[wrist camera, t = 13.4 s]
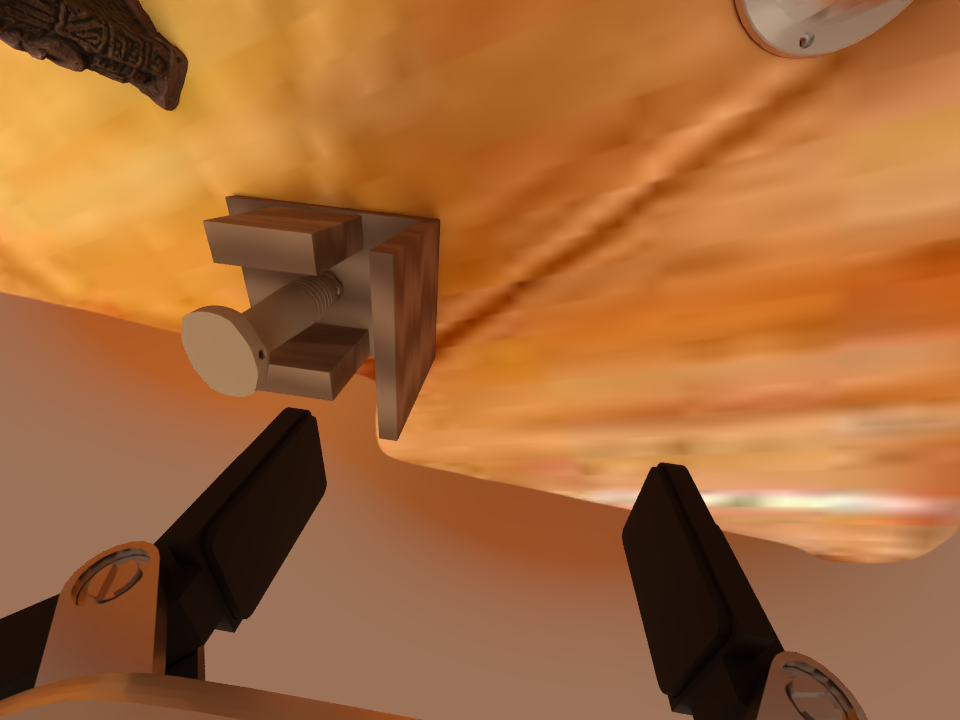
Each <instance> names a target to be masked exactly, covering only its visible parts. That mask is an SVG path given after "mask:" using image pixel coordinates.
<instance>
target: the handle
mask: <svg viewBox="0 0 960 720" xmlns="http://www.w3.org/2000/svg"><path fill="white" fill-rule="evenodd" d="M342 290H343V287H342V285H341V284H340V283H339V282H338V281H337V280H336V278H335V275H334V274H333V273H331V272H328V273H321V274H319V275H317V276H314V275H308V276H304V277H302V278H299V279H296V280H294V281H292V282H290V283H288V284H286V285H284V286H283V287H281V288H279V289H278V290H276V291H275V292H273V293H272V294H270V295H269V296H268V297H266V298H265V299H263V300H262V301H260V302H259V303H257V304H256V305H254V306H253V307H251V308H249V309H248V310H246V311H245V312H243V313H242V314H241V313H239V312H238V311H236V310H234V309H231V308H228V307H224V306H206V307H202V308H199V309H197V310H195V311H193V312H191V313H189V314H187V315H185V316H184V317H183V320H182V332H181V336H182V342H183V346H184V348H185V351H186V353H187V355H188V358H189V360H190V362H191V364H192V366H193V367H194V369H195V370H196V371H197V373H198V374H199V375H200V376H201V377H202V378H203V380H205V382H206V383H207V384H208V385H209V386H210V387H211V388H212V389H214V390H216V391H218V392H220V393H222V394H226V395H229V396H237V397H238V396H239V397H243V396H248V395H251V394H253V393H254V392H256V391H257V390H258V389H259V388H260V387H261V386H262V385H263V384H264V383H265V380H266V377H267V373H268V368H269V360H270V354H269V353H270V352H271V351H273V350H274V349H276V348H277V347H279V346H280V345H282V344H283V343H285V342H286V341H288V340H289V339H291V338H292V337H294V336H295V335H297V334H299V333H300V332H302V331H303V330H305V329H306V328H308V327H310V326H311V325H313V324H314V323H315V322H316V321H318V320H319V319H320V318H321V317H322V316H323V315H325V314H326V313H327V312H328V311H329V309H330V308H331V307H332V306H333V305H334V304H335V303H336V302H337V300H338V295H339V294H340V293H341V292H342Z"/></svg>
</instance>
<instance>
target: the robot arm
mask: <svg viewBox="0 0 960 720" xmlns="http://www.w3.org/2000/svg"><path fill="white" fill-rule="evenodd" d="M913 1H914V0H735V4H736V9H737V11H738V14H739V17H740V19H741V22H742V25H743V26H744V28H745V29H746V31H747V32H748V33H749V35H750V36H751V38H752V39H753V40H754V41H755V42H756V43H758V44H759V45H760V46H761V47H762V48H764V49H765V50H767V51H769V52H772V53H774V54H776V55H778V56H782V57H789V58H795V59H800V58H812V57H818V56H821V55H825V54H828V53H832V52H835V51H838V50H840V49H843V48H846V47H848V46H851V45H853V44H855V43H857V42H859V41H861V40H862V39H864V38H866V37H868V36H870V35H871V34H873V33H875V32H876V31H878V30H879V29H880V28H882V27H883V26H884V25H886V24H887V23H888V22H890V21H891V20H892V19H894V18H895V17H896V16H898V15H899V14H900V13H901V12H902V11H903V10H904V9H905V8H906V7H907V6H908V5H909V4H910V3H912V2H913ZM800 40H801V42H802V43H801V46H799V41H800ZM326 485H327V481H326V475H325V469H324V463H323V457H322V450H321V445H320V438H319V432H318V426H317V420H316V418H315V417H314V416H312V415H311V412H310V411H309V410H303V409H297V408H290V407H288V408H285V409H284V410H283V411H282V412H281V413H280V414H279V415H278V416H277V417H276V418H275V419H274V420H273V421H272V422H271V423H270V425H269V426H268V427H267V428H266V429H265V430H264V431H263V432H262V433H261V434H260V435H259V436H258V437H257V438H256V439H255V440H254V441H253V442H252V443H251V444H250V446H248V447H247V449H246V450H245V451H244V452H243V453H242V454H240V455H239V456H238V457H237V458H236V459H235V460H234V461H233V462H232V463H231V464H230V465H229V466H228V468H226V469H225V470H224V472H223V473H222V474H221V475H220V476H219V477H218V478H217V479H216V480H215V481H214V482H213V483H212V484H211V485H210V486H209V487H208V488H207V490H205V491H204V492H203V493H202V494H201V496H200V497H199V498H198V499H197V500H196V501H195V502H194V503H193V504H192V505H191V506H190V507H189V508H188V509H187V510H186V511H185V512H184V513H183V514H182V515H181V516H180V517H179V518H178V519H177V521H175V523H174V524H173V525H172V526H171V527H170V528H169V529H168V530H167V531H166V532H165V533H164V534H163V535H162V536H161V537H160V538H159V539H158V540H157V541H156V542H155V543H154V544H152V543H148V542H145V541H137V542H128V543H125V544H121V545H117V546H115V547H113V548H110V549H108V550H106V551H103V552H102V553H100V554H98V555H97V556H95V557H94V558H92V559H90V560H89V561H87V562H86V563H85V564H84V565H83V566H81V567H80V568H79V569H78V570H77V571H76V572H74V574H73V575H72V576H71V577H70V578H69V580H68V581H67V582H66V583H65V585H64V587H63V589H62V591H61V593H60V594H58V595H56V596H53V597H51V598H48V599H46V600H44V601H41V602H39V603H37V604H34V605H32V606H30V607H27V608H25V609H23V610H20V611H18V612H16V613H13V614H11V615H9V616H6V617H4V618H2V619H0V720H420V719H415V718H410V717H405V716H399V715H394V714H389V713H383V712H378V711H373V710H367V709H362V708H356V707H350V706H345V705H340V704H335V703H329V702H324V701H317V700H312V699H306V698H301V697H296V696H291V695H285V694H280V693H274V692H268V691H263V690H258V689H252V688H247V687H240V686H234V685H228V684H221V683H215V682H209V681H205V652H204V644H205V643H206V641H207V640H208V638H209V637H210V635H211V634H212V632H213V631H214V629H217V630H222V631H228V632H233V633H234V632H235V631H236V629H237V628H238V626H239V624H240V623H241V621H242V619H247V618H248V617H250V616H251V615H252V613H253V612H254V610H255V609H256V607H257V605H258V604H259V602H260V600H261V599H262V597H263V595H264V594H265V592H266V590H267V588H268V587H269V585H270V584H271V582H272V580H273V579H274V577H275V575H276V574H277V572H278V570H279V569H280V567H281V565H282V563H283V562H284V560H285V558H286V557H287V555H288V553H289V552H290V550H291V549H292V547H293V545H294V543H295V542H296V540H297V538H298V537H299V535H300V534H301V532H302V530H303V529H304V527H305V525H306V524H307V522H308V520H309V518H310V517H311V515H312V513H313V512H314V510H315V508H316V507H317V505H318V503H319V502H320V500H321V498H322V497H323V495H324V492H325V490H326ZM622 540H623V545H624V550H625V554H626V557H627V562H628V565H629V569H630V573H631V577H632V581H633V585H634V589H635V593H636V597H637V601H638V605H639V609H640V613H641V617H642V621H643V625H644V629H645V633H646V637H647V641H648V645H649V649H650V653H651V657H652V661H653V665H654V669H655V673H656V677H657V681H658V684H659V687H660V689H661V691H662V692H663V693H664V694H667V695H668V698H669V702H670V706H671V710H672V712H677V713H682V714H688V715H693V718H694V720H868V719H867V717H866V715H865V713H864V710H863V709H862V707H861V706H860V704H859V703H858V701H857V700H856V699H855V697H854V695H853V694H852V693H851V692H850V691H849V690H848V688H847V687H846V686H845V685H844V684H843V683H842V682H841V681H840V680H839V678H837V677H836V676H835V675H834V674H833V673H831V672H830V671H829V670H828V669H827V668H826V667H824V666H823V665H821V664H820V663H818V662H816V661H815V660H813V659H812V658H810V657H808V656H805V655H803V654H800V653H797V652H790V651H784V649H783V647H782V645H781V643H780V641H779V639H778V637H777V636H776V633H775V632H774V630H773V628H772V626H771V624H770V622H769V620H768V619H767V616H766V614H765V612H764V610H763V609H762V607H761V605H760V603H759V601H758V599H757V597H756V596H755V593H754V591H753V590H752V588H751V586H750V584H749V582H748V580H747V578H746V576H745V574H744V572H743V570H742V569H741V567H740V565H739V563H738V561H737V559H736V557H735V555H734V554H733V551H732V549H731V548H730V545H729V544H728V542H727V540H726V538H725V536H724V534H723V532H722V531H721V529H720V528H719V526H718V525H717V524H715V522H714V520H713V518H712V516H711V514H710V512H709V510H708V508H707V506H706V504H705V502H704V500H703V499H702V497H701V495H700V493H699V491H698V489H697V487H696V485H695V483H694V481H693V479H692V477H691V475H690V473H689V471H688V470H687V468H686V467H685V466H683V465H676V464H670V463H659V464H658V466H657V467H652V468H651V469H650V471H649V473H648V476H647V478H646V480H645V482H644V484H643V487H642V489H641V491H640V493H639V495H638V498H637V500H636V502H635V504H634V506H633V509H632V511H631V513H630V515H629V517H628V520H627V522H626V524H625V526H624V528H623V533H622Z"/></svg>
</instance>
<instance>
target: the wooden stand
mask: <svg viewBox="0 0 960 720" xmlns="http://www.w3.org/2000/svg"><path fill="white" fill-rule="evenodd" d="M225 198H226V202H227V206H228V210H229V216H224V217H219V218H214V219H209V220H204V221H203V224H204V227H205V231H206V235H207V238H208V242H209V246H210V250H211V253H212V257H213V261H214V263H221V264H228V265H236V266H241V267H242V271H243V275H244V280H245V284H246V288H247V292H248V297H249V301H250V305H251V307H253V306H254V305H256V304H257V303H259V302H260V301H262V300H263V299H265V298H266V297H268V296H269V295H270V294H272V293H273V292H275V291H276V290H278V289H279V288H281V287H283V286H284V285H286V284H288V283H290V282H292V281H294V280H296V279H299V278H302V277H304V276H308V275H314V276H317V275H319V274H321V273H328V272H331V273H333V274H334V275H335V278H336V280H337V281H338V282H339V283H340V284H341V285H342V287H343V290H342V292H341V293H340V294H339V295H338V300H337V302H336V303H335V304H334V305H333V306H332V307H331V308H330V309H329V311H328V312H327V313H326V314H325V315H323V316H322V317H321V318H320V319H319V320H318V321H316V322H315V323H314V324H313V325H311V326H310V327H308V328H306V329H305V330H303V331H302V332H300V333H299V334H297V335H295V336H294V337H292V338H291V339H289V340H288V341H286V342H285V343H283V344H282V345H280V346H279V347H277V348H276V349H274V350H273V351H271V352H270V353H269V354H270V360H269V368H268V373H267V377H266V380H265V383H264V384H263V385H262V386H261V387H260V388H259V389H258V390H261V391H268V392H275V393H281V394H290V395H296V396H302V397H309V398H316V399H323V400H330V401H333V400H334V399H335V398H336V397H337V395H338V394H339V393H340V392H341V390H342V389H343V388H344V386H345V385H346V384H347V382H348V381H349V380H350V379H351V378H352V376H353V375H354V374H355V373H356V371H357V370H358V369H359V367H360V366H361V365H362V364H363V362H364V361H365V360H366V359H367V357H368V356H375V372H376V390H377V408H378V426H379V438H381V439H388V440H394V441H397V440H398V438H399V436H400V434H401V432H402V429H403V427H404V425H405V423H406V421H407V418H408V416H409V414H410V412H411V410H412V407H413V405H414V403H415V401H416V399H417V396H418V394H419V392H420V390H421V387H422V385H423V383H424V381H425V379H426V376H427V374H428V372H429V370H430V368H431V365H432V363H433V361H434V359H435V341H436V315H437V288H438V262H439V236H440V219H431V218H423V217H414V216H406V215H397V214H389V213H381V212H372V211H364V210H355V209H347V208H339V207H330V206H322V205H313V204H305V203H297V202H288V201H280V200H271V199H263V198H254V197H246V196H238V195H235V196H228V197H225Z"/></svg>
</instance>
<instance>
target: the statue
mask: <svg viewBox="0 0 960 720" xmlns="http://www.w3.org/2000/svg"><path fill="white" fill-rule="evenodd" d="M0 39H1V40H2V41H3V42H5V43H6V44H8V45H9V46H11V47H12V48H14V49H17V50H21V51H25V52H28V53H29V54H30V55H31V56H32V57H34V58H37V59H40V60H44V59H45V58H47V59H49V60H51V61H52V62H54V63H55V64H57V65H59V66H62V67H65V68H67V69H70V70H73V71H79V72H82V71H84V70H85V69H89V70H91V71H95V72H97V73H99V74H101V75H103V76H106V77H108V78H110V79H112V80H115V81H118V82H121V83H128V82H129V83H131V84H132V85H134V86H135V87H137V88H138V89H139V90H140V91H141V92H142V93H144V94H145V95H147V96H149V97H150V98H151V99H152V100H153V101H154V102H155V103H156V104H157V105H159V106H160V107H162V108H163V109H165V110H173V109H174V108H175V107H176V105H177V103H178V98H179V93H180V90H181V88H182V86H183V83H184V78H185V75H186V72H187V59H186V57H185V56H184V54H183V53H182V52H180V51H179V49H178V48H177V47H175V46H173V45H172V44H171V43H170V42H168V41H167V40H166V39H165V38H164V37H163V36H162V35H161V34H160V33H159V32H157V31H156V29H155V27H154V25H153V23H152V21H151V19H150V18H149V16H148V14H147V13H146V12H145V11H144V10H143V9H142V7H141V5H140V3H139V1H138V0H0Z"/></svg>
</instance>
